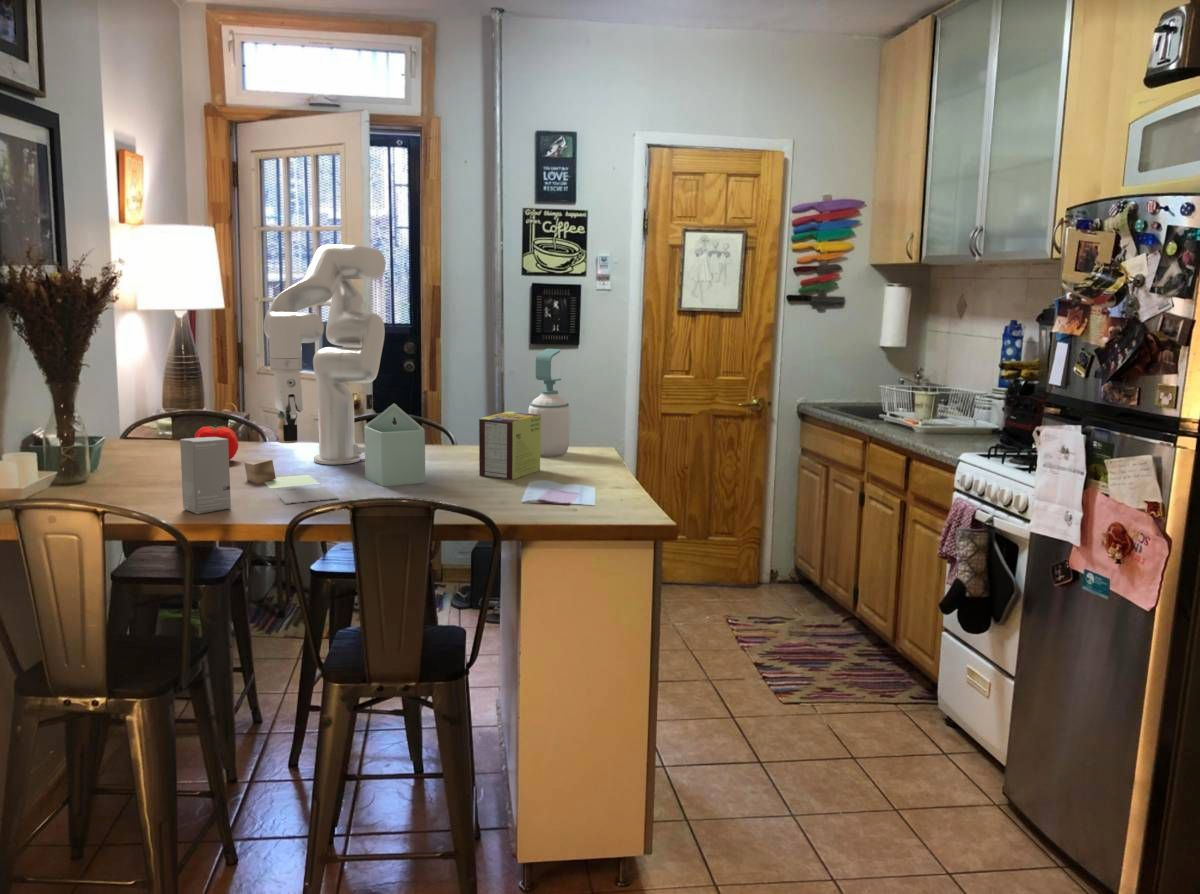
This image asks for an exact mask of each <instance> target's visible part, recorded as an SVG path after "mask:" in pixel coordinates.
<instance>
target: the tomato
mask: <svg viewBox="0 0 1200 894" xmlns="http://www.w3.org/2000/svg"><path fill="white" fill-rule="evenodd" d="M200 437H202V438H204V437H219V438H225V439H228V447H229V461H230V460H231V459H233V458H234V457H235V456H236V455H237V454H236V453H237V452H238V449H239V441H238V436H237V434H236V432H234V430H232V429H231V428H230V427H227V426H226V425H221V426H218V425H217V424H215V425H214V426H212V425H209V426H201V428H199V429H198V430H197V431H196V432H195V434H194V437H193V438H200Z"/></svg>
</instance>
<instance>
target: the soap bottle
mask: <svg viewBox="0 0 1200 894" xmlns="http://www.w3.org/2000/svg"><path fill="white" fill-rule="evenodd" d="M559 353H561V349H559V348H546V349H543V350H541V352H539V353H537V355H536V356H535V379H536V380H537V381H543V385H545V389H542V390H540V395H538V396H537V397H536V398H534V399H533V400H532V401H531V402H530V403H529V406H528V412H527V413H530V414H541V441H540V456H541V457H540V458H542V457H544V458H556V457H557V456H558V457H563V455H565V454H566V453H567V451H568V450H569V446H570V424H571V421H570V420H571V418H570V417H571V408H570V406H569V405H570V403H569V402H567V401H566V400H565V399H564V398H562V397H561V396H560V395H559V391H558V390H555V389H554V385H556V382H559V381H561V380H562V378H561V377H552V376H551V375H552V359H553V357H555V356H556V355H558V354H559ZM558 457H557V458H558Z"/></svg>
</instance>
